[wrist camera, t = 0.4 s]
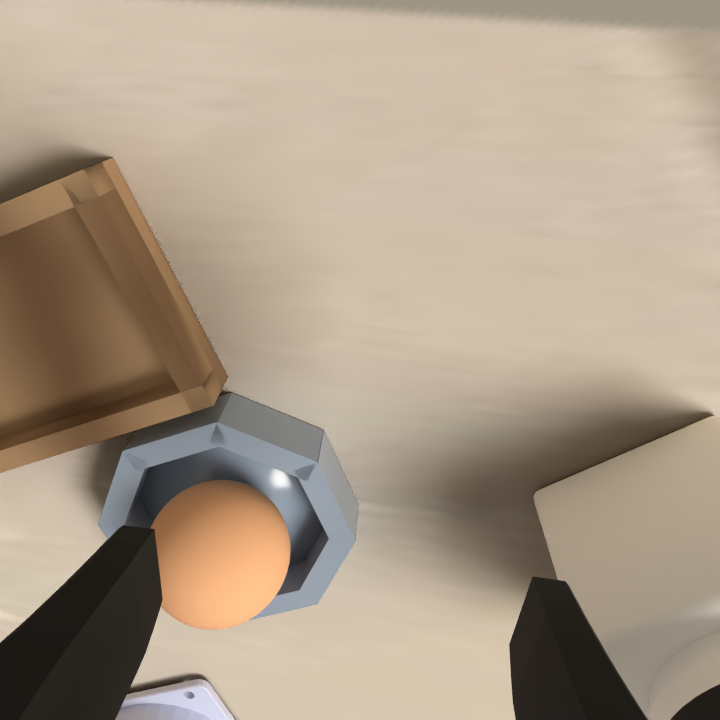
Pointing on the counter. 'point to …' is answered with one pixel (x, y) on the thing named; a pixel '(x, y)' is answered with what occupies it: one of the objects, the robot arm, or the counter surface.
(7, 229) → the tray
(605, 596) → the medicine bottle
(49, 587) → the counter surface
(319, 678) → the counter surface
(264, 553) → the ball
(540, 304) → the counter surface
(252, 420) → the ramekin
